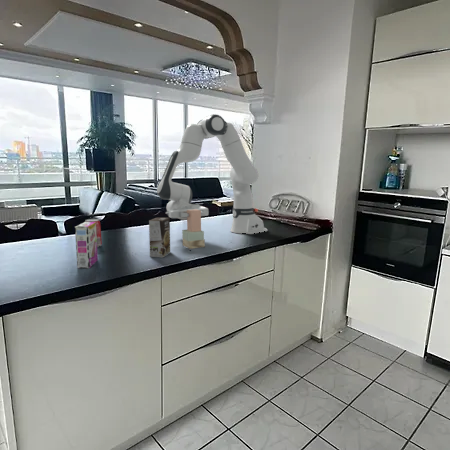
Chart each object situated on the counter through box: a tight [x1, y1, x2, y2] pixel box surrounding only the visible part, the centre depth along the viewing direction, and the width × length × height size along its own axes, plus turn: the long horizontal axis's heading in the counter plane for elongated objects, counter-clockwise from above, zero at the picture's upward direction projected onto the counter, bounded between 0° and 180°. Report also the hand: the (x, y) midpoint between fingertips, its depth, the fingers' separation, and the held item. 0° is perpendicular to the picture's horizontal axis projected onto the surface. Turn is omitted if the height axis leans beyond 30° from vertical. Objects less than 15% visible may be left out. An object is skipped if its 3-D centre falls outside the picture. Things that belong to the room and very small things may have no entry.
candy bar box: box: [74, 221, 99, 269], centre depth 132 cm, size 11×5×16 cm, turn 5°
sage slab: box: [181, 229, 205, 241], centre depth 163 cm, size 8×8×4 cm
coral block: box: [186, 209, 202, 232], centre depth 162 cm, size 5×5×10 cm
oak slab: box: [182, 238, 206, 250], centre depth 164 cm, size 8×8×4 cm
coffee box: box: [148, 217, 171, 259], centre depth 147 cm, size 9×6×16 cm
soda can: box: [84, 218, 103, 248], centre depth 160 cm, size 7×7×13 cm
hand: (195, 214), depth 161 cm, fingers open, 6 cm apart
